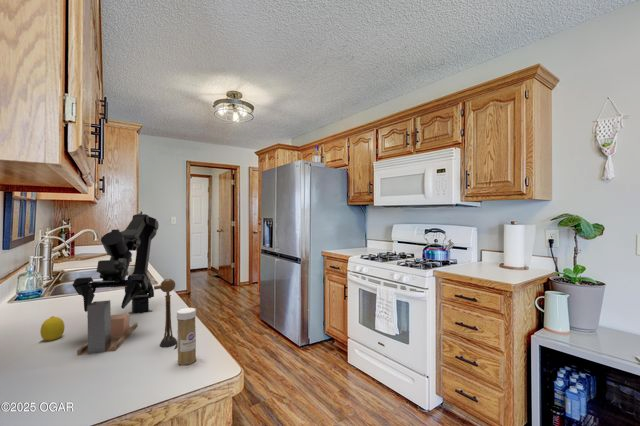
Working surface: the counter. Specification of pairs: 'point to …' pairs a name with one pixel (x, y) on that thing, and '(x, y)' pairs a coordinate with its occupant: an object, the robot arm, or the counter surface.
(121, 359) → the counter surface
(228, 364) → the counter surface
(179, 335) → the sprinkles bottle
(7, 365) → the counter surface
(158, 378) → the counter surface
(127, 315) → the terracotta block
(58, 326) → the lemon
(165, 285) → the wooden tabletop sculpture
